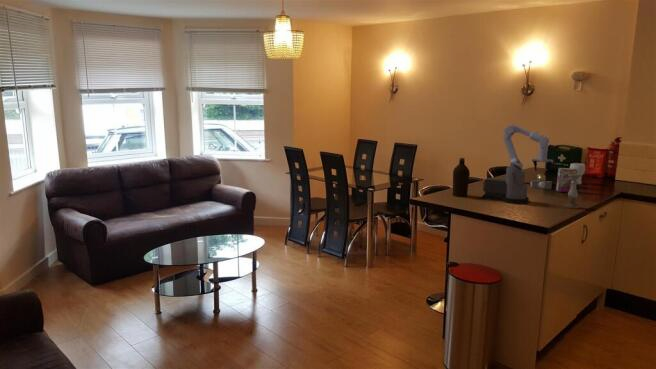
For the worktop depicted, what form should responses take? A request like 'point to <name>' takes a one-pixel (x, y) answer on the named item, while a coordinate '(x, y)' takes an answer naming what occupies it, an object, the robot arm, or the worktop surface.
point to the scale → (541, 184)
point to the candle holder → (573, 192)
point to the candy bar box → (564, 179)
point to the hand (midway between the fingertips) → (541, 171)
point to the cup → (578, 170)
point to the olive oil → (460, 179)
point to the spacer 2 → (541, 178)
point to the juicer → (507, 187)
